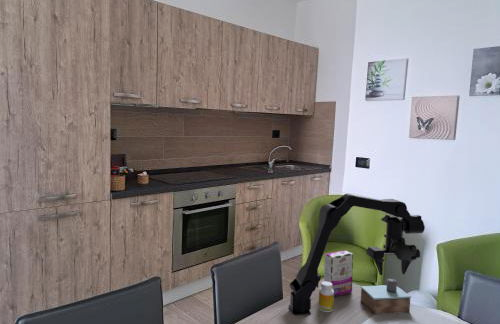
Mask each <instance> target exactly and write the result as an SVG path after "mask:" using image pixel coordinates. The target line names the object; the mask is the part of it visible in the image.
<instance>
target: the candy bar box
mask: <svg viewBox="0 0 500 324" xmlns="http://www.w3.org/2000/svg"><path fill="white" fill-rule="evenodd" d="M323 268H324V269H323V271H324V273H323V274H324V275H323V281H328V282H331V283H332V289H333V290H334V298H335V297H339V296H344V295H346V294H351V293H352V292H353V272H354V271H353V270H354V253H353V252H351V251H348V250H341V251H333V252H329V253H324V267H323Z"/></svg>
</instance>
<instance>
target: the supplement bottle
mask: <svg viewBox="0 0 500 324" xmlns="http://www.w3.org/2000/svg"><path fill="white" fill-rule="evenodd" d="M320 286H321V287H319V288H318V306H317V307H318V310H319V311H321V312H323V313H331V312H333V311H334V306H335V305H334V302H335V297H334V290H333V289H332V283H331V282H328V281H324V280H323V281H322V282H320Z"/></svg>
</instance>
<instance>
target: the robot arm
mask: <svg viewBox="0 0 500 324" xmlns="http://www.w3.org/2000/svg"><path fill="white" fill-rule="evenodd" d="M353 207H356V208H364V209H369V210H375V211H380V212H383V213H385V215H384V216H383V217H382V218H381V219H380V220H381V221H382V222H384V223H386V230H385V234H383V238H385V244H383V249H382V248H380V247H378V246H368V247H367V248H366V255H368V256H369V257H370V258H371V259H373V262H374V263H375V266H376V268H377V272H378V274H379V275H380V276H383V270H384V269H383V267H384V266H383V265H384V264H383V263H384V262H385V256H389V255H394V256H396V258H397V260H399V261H400V262H401V263H400V264H401V268H400V269H401V274H402V275H406V272H407V270H408V268H409V267H410V265H411V263H412V262H413V261H415V260H417V259H418V258H421V251H420V249H419V248H418V247H417V246H416V245H415V244H406V238H404V236H403V235H404V233H405V234H407V235H408V234H410V235H411V234H423V233H424V231H425V228H426V226H425V223H424V220H422V219H423V218H422V216H421V215H420V214H413V215H411V213H410V212H409V210H408V208H407V204H406V203H405V202H403V201H400V200H398V199H394V198H384V199H378V198H377V199H376V198H371V197H366V196H361V195H360V196H359V195H354V194H352V193H344V194H343V195H341V196H340V197H338V198H336V199H334V200H332V201H330V202H329V203H326V204H323V205H322V206H321V207H320V208H319V209H320V210H319V214H318V228H317V231H316V234H315V236H314V239H313V241H312V245H311V248H310V251H309V253H308V256H307V258H306V261H305V263H304V265H302V266H301V267H300V269H299V270H298V273H297V274H296V276H295V278H294V279H293V280H292V281H290V283H289V287H290V289H291V291H290V299H289V300H290V303H289V305H288V308H289V310H290V312H291V313H292V315H294V316H299V315H300V316H301V315H310V314H311V313H312V312H311V308H312V307H311V306H312V305H311V304H312V299H311V297H312V294H313V292H315V290H316V289H317V288H318V289H319V282H320V281H321V279H322V276H321V275H320V273H319V267H320V264H321V262H322V258H323V255H324V254H325V250H326V248H327V245H328V241H329V239H330V236H331V233H332V232H333V231H334V230H335V229H336V227H337V226H338V225H339V223H340V221H341V220H342V217H344V216H345V215H346V214H348V212H349V211H350V210H351V209H352V208H353ZM387 214H389V215H387ZM390 215H392V216H390ZM403 232H404V233H403Z"/></svg>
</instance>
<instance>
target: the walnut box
mask: <svg viewBox="0 0 500 324" xmlns="http://www.w3.org/2000/svg"><path fill="white" fill-rule="evenodd" d="M360 289H361V290H360V302H361V303H362V304H363V305H364V306H365V308H367V309H368V310H369V311H370V312H371V314H373V315H380V314H379V313H386V314H399V313H398V312H403V313H410V309H411V298H401V299H382V300H374V299H373V298H371V297H370V296H369V295H368V294H367V293H366V292H365V291H364V290H363V289H362V288H360ZM394 312H395V313H394ZM396 312H397V313H396Z"/></svg>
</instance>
